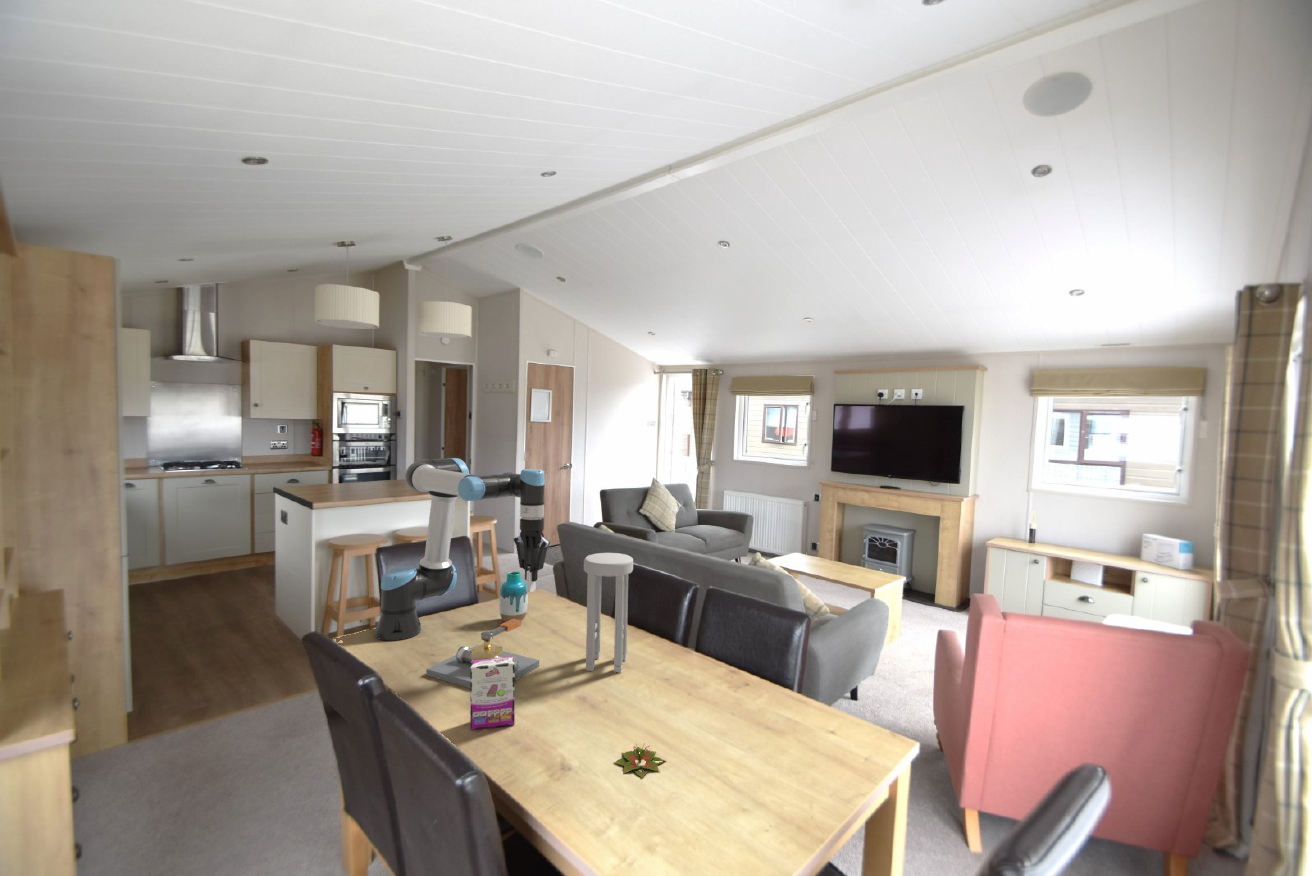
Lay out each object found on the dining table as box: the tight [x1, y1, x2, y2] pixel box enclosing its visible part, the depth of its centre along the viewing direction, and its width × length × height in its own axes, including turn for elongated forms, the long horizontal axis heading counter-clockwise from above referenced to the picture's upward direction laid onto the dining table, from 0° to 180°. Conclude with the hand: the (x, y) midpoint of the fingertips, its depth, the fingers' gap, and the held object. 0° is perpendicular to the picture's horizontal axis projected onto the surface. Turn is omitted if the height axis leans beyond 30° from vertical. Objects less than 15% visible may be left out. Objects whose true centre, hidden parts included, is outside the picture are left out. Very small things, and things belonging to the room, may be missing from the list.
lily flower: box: [612, 742, 667, 779], centre depth 137 cm, size 12×12×5 cm
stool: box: [583, 552, 634, 674], centre depth 191 cm, size 16×16×35 cm
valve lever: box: [480, 619, 522, 642], centre depth 188 cm, size 4×16×2 cm, turn 154°
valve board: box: [425, 644, 540, 689], centre depth 184 cm, size 26×22×2 cm
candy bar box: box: [469, 657, 516, 731], centre depth 153 cm, size 11×5×16 cm, turn 105°
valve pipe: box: [455, 640, 519, 673], centre depth 183 cm, size 21×6×9 cm, turn 64°
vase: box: [499, 570, 529, 623], centre depth 228 cm, size 11×11×19 cm
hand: (530, 590), depth 188 cm, fingers closed
